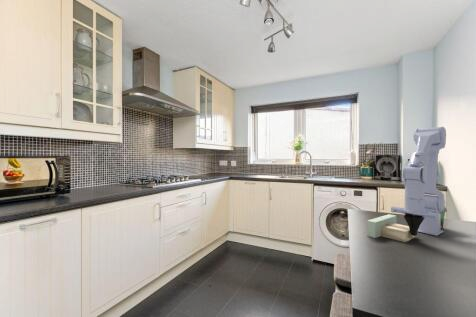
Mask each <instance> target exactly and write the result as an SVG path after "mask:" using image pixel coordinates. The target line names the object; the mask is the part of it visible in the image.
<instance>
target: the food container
mask: <svg viewBox="0 0 476 317" xmlns="http://www.w3.org/2000/svg"><path fill="white" fill-rule="evenodd" d="M447 212H448V210H447V207H446V205H445V206H444V210H443V211H442V212H439V214H441V225H440V230H443V229H444V222H445V216H446V215H445V214H446V213H447Z"/></svg>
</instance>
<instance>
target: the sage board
mask: <svg viewBox="0 0 476 317" xmlns="http://www.w3.org/2000/svg"><path fill="white" fill-rule="evenodd" d="M397 218H398V216H397V215H396V214H395V215H394V214H389V213H388V214H385V215H381V216H378V217H374V218H371V219H367V221H366V236H367V237H369V238H373V239H377V238H379V237H382V236H381V226H384V225H387V224H389V223H396V224H398V223H397Z"/></svg>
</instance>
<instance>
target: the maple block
mask: <svg viewBox="0 0 476 317" xmlns="http://www.w3.org/2000/svg"><path fill="white" fill-rule="evenodd" d="M380 237H384V238H388V239H392V240H395V241H399V242H403V243H407V242H409V241H411V240H412V239H414V238H416V236H413V235H411V232H410V229H409V226H408V225H404V224H400V223H397V224H396V223H389V224H387V225H384V226H381V236H380Z"/></svg>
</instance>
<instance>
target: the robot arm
mask: <svg viewBox="0 0 476 317" xmlns="http://www.w3.org/2000/svg"><path fill="white" fill-rule="evenodd" d="M412 138H413V141H414V143H415V145H416V149H415V152H413V153H412V154H411V155H410V158H409V160H408V163H407V166H405V167H404V168H403V169H402V172H401V173H402V181H403V186H404V207H398V206H391V207H390V212H391V213H398V214H403V215H404V216H403V218H404V220H405V222H406V224H407V226H409V229H410V232H411V235H413V236H415V237H416V236H417V235H418V233H419V232H420V233H424V234H429V235H431V236H432V235H433V236H439V235H440V234H442V233H444V230H443V229H442V230H440V225H441V214H439V212H442V211H443V210H444V206H445V207H446V205H445V204H446V201H445V194H444V192H443V191H441V190H439V189H438V188H437V176H438V173H437V172H438V160H439V154H440V150H442V149H444V148H445V147H446V142H447V130H446V128H445V127H444V126H438V127H426V128H415V130H413V137H412Z"/></svg>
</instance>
